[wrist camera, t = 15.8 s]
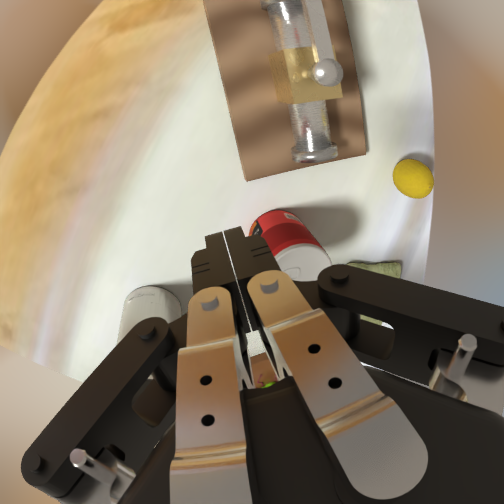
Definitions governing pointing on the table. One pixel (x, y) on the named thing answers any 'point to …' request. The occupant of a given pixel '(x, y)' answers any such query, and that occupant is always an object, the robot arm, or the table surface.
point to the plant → (262, 371)
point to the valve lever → (321, 45)
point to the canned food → (291, 245)
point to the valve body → (300, 82)
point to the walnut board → (263, 90)
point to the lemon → (413, 178)
